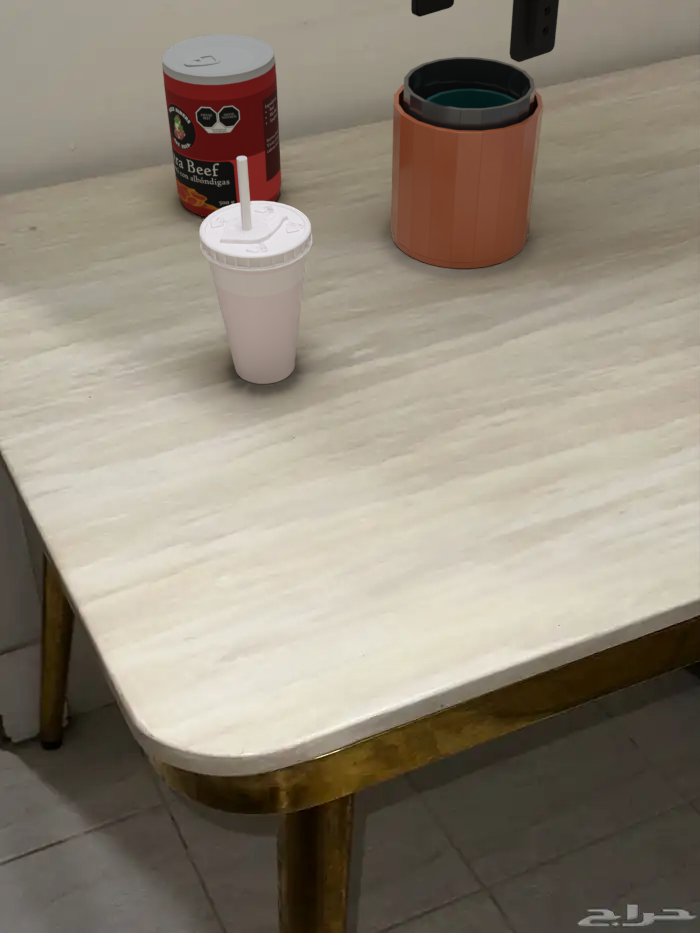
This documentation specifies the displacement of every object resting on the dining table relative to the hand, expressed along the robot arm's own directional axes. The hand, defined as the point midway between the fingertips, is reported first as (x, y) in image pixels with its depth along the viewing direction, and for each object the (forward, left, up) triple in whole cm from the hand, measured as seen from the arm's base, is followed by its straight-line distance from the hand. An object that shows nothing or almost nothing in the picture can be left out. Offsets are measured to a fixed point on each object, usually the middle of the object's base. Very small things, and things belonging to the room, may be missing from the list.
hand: (480, 32), depth 71 cm
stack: (+1, 0, -15) cm, 14 cm away
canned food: (+16, -10, -15) cm, 24 cm away
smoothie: (+18, +12, -15) cm, 26 cm away
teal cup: (0, 0, -14) cm, 14 cm away
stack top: (+1, 0, -15) cm, 14 cm away
